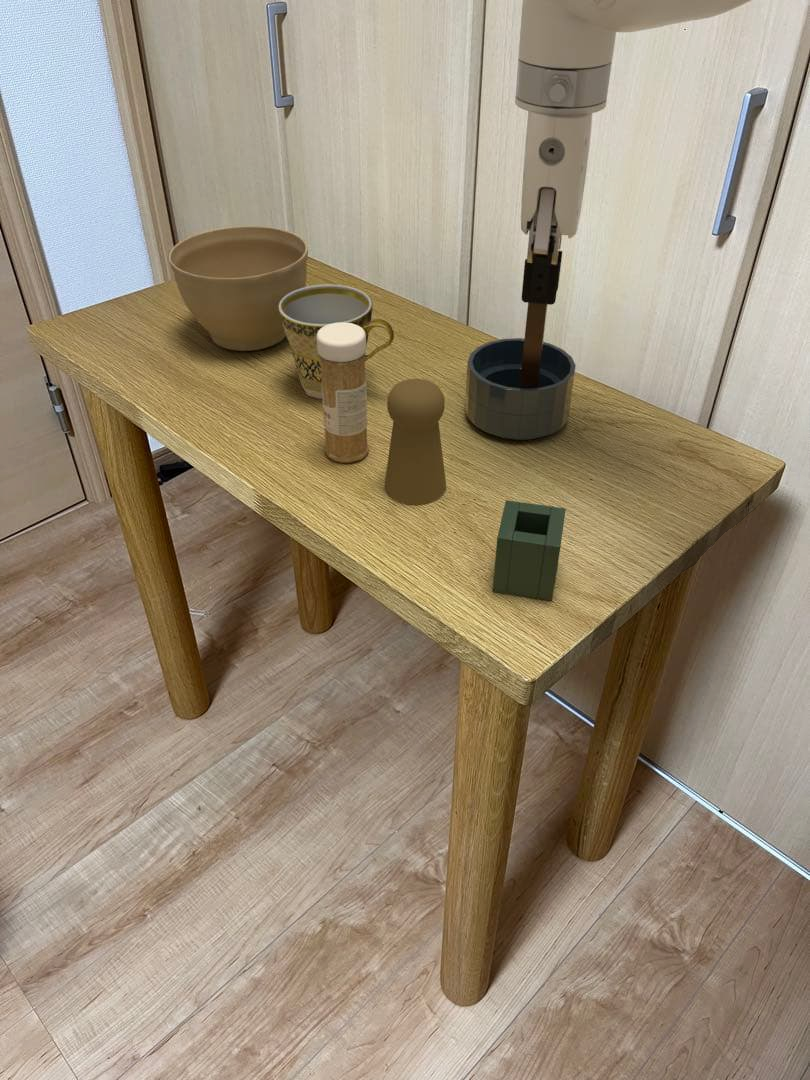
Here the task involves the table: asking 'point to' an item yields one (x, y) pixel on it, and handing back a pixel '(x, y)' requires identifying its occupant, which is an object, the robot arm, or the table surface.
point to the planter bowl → (240, 282)
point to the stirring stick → (533, 344)
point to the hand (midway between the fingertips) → (539, 295)
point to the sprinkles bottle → (344, 390)
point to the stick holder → (528, 550)
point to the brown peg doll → (415, 443)
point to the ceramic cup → (316, 310)
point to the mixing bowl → (518, 390)
